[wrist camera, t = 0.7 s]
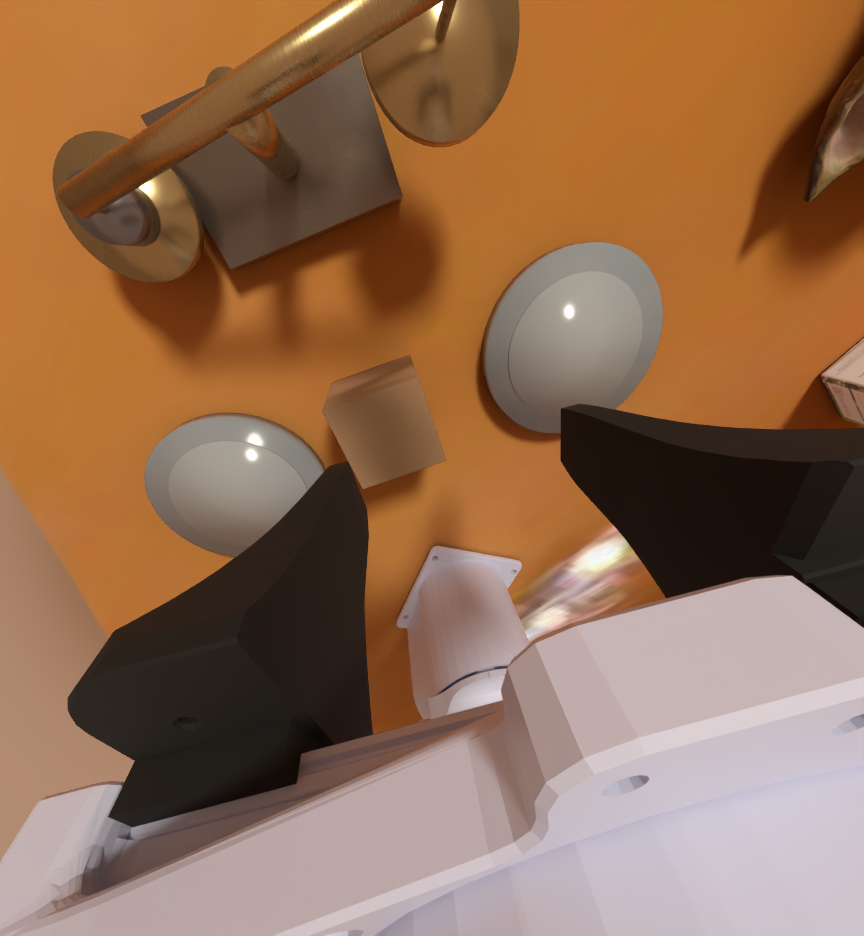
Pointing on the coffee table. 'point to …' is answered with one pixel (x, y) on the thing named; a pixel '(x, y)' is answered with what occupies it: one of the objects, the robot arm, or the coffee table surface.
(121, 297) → the coffee table surface
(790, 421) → the coffee table surface
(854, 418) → the syrup box
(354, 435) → the walnut block
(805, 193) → the ceramic sculpture
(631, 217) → the coffee table surface
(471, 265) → the coffee table surface
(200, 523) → the left dish
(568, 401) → the right dish
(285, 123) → the bronze balance
